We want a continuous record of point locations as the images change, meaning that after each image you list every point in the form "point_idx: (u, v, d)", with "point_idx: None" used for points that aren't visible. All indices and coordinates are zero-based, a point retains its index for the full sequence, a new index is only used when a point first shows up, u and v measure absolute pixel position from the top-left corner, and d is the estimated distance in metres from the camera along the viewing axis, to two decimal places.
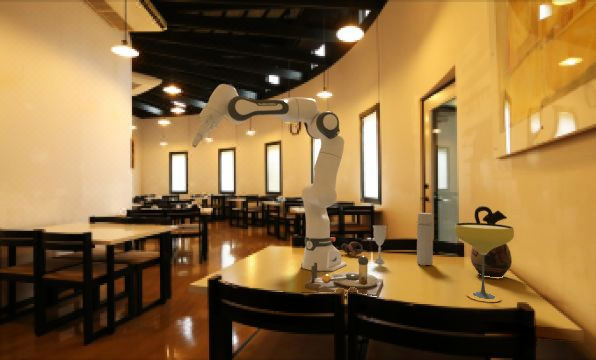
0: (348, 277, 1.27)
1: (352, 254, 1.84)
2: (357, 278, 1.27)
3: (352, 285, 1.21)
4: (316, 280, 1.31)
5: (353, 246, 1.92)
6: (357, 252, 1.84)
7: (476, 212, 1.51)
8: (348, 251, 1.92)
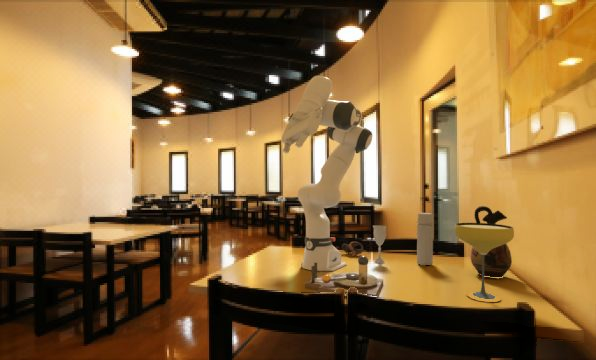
0: (348, 277, 1.27)
1: (353, 254, 1.85)
2: (357, 278, 1.27)
3: (352, 285, 1.21)
4: (316, 280, 1.31)
5: (353, 246, 1.93)
6: (358, 252, 1.84)
7: (476, 212, 1.51)
8: (348, 251, 1.92)
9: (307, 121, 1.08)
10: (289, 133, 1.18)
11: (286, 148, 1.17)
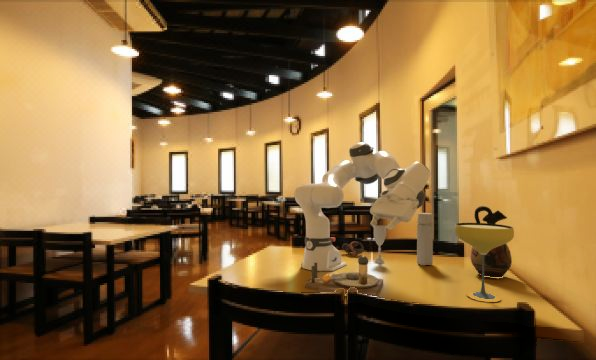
0: (348, 277, 1.27)
1: (353, 254, 1.85)
2: (357, 278, 1.27)
3: (352, 285, 1.21)
4: (316, 280, 1.31)
5: (354, 246, 1.93)
6: (358, 252, 1.85)
7: (476, 212, 1.51)
8: (349, 251, 1.93)
9: (403, 209, 1.18)
10: (380, 209, 1.28)
11: (374, 222, 1.28)
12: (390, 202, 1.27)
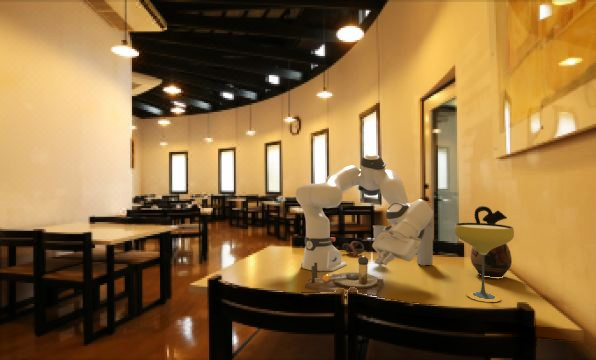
0: (348, 277, 1.27)
1: (354, 253, 1.86)
2: (357, 278, 1.27)
3: (352, 285, 1.21)
4: (316, 280, 1.31)
5: (354, 246, 1.94)
6: (359, 251, 1.85)
7: (476, 212, 1.51)
8: (349, 250, 1.93)
9: (405, 248, 1.20)
10: (383, 245, 1.30)
11: None
12: (393, 239, 1.29)
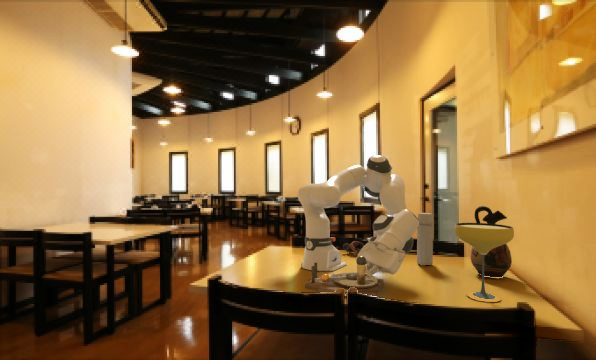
0: (347, 277, 1.27)
1: (354, 253, 1.86)
2: (356, 278, 1.26)
3: (350, 285, 1.22)
4: (316, 280, 1.31)
5: (354, 245, 1.94)
6: (359, 251, 1.86)
7: (476, 212, 1.51)
8: (350, 250, 1.94)
9: (389, 261, 1.17)
10: (367, 256, 1.27)
11: None
12: (377, 250, 1.26)
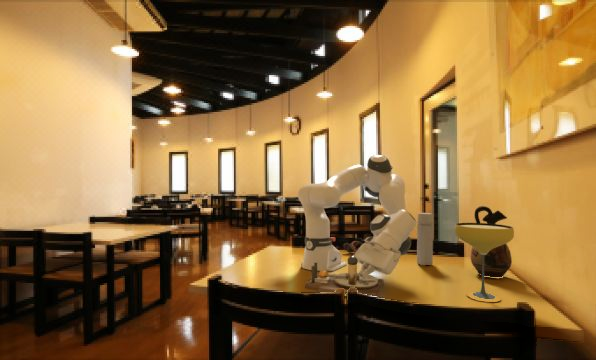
0: (346, 276, 1.28)
1: None
2: None
3: (341, 283, 1.23)
4: (316, 280, 1.31)
5: (355, 245, 1.95)
6: None
7: (476, 212, 1.51)
8: (350, 250, 1.94)
9: (384, 261, 1.17)
10: (363, 256, 1.27)
11: None
12: (374, 250, 1.26)
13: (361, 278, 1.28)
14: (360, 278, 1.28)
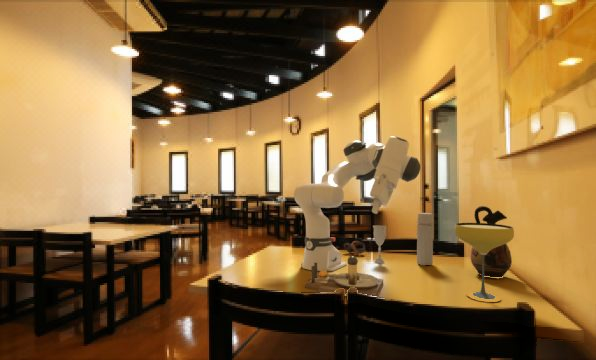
0: (346, 276, 1.28)
1: (355, 253, 1.87)
2: None
3: (341, 283, 1.23)
4: (316, 280, 1.31)
5: (355, 245, 1.95)
6: (360, 251, 1.87)
7: (476, 212, 1.51)
8: (350, 250, 1.95)
9: None
10: None
11: None
12: None
13: (361, 278, 1.28)
14: (360, 278, 1.28)
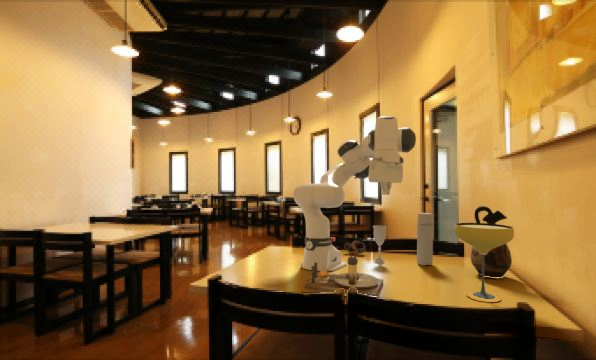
0: (346, 276, 1.28)
1: (355, 253, 1.87)
2: None
3: (341, 283, 1.23)
4: (316, 280, 1.31)
5: (355, 245, 1.95)
6: (360, 251, 1.87)
7: (476, 212, 1.51)
8: (350, 250, 1.95)
9: None
10: None
11: None
12: None
13: (361, 278, 1.28)
14: (360, 278, 1.28)
